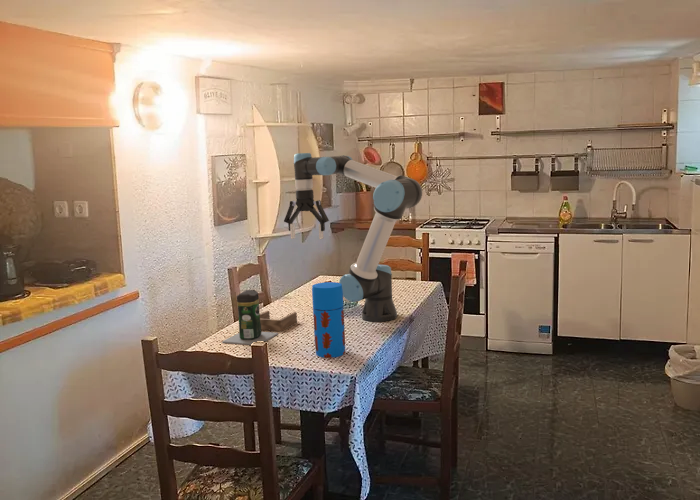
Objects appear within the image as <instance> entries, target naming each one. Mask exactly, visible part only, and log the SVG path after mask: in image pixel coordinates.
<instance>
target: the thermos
mask: <svg viewBox="0 0 700 500" xmlns="http://www.w3.org/2000/svg"><path fill="white" fill-rule="evenodd" d="M311 286H312V287H311V294H312V295H311V297H312V316H313V333H314V336H313V337H314V347H315V355H316V356H317V357H319V358H331V359H332V358H338V357H341V356H343V355H345V354H346V331H345V330H346V329H345V311H344V310H345V308H344V297H343V289H342V284H341V283H339V282H338V281H337V282H334V281H329V282H328V281H327V282H319V283H314V284H312V285H311Z"/></svg>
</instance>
